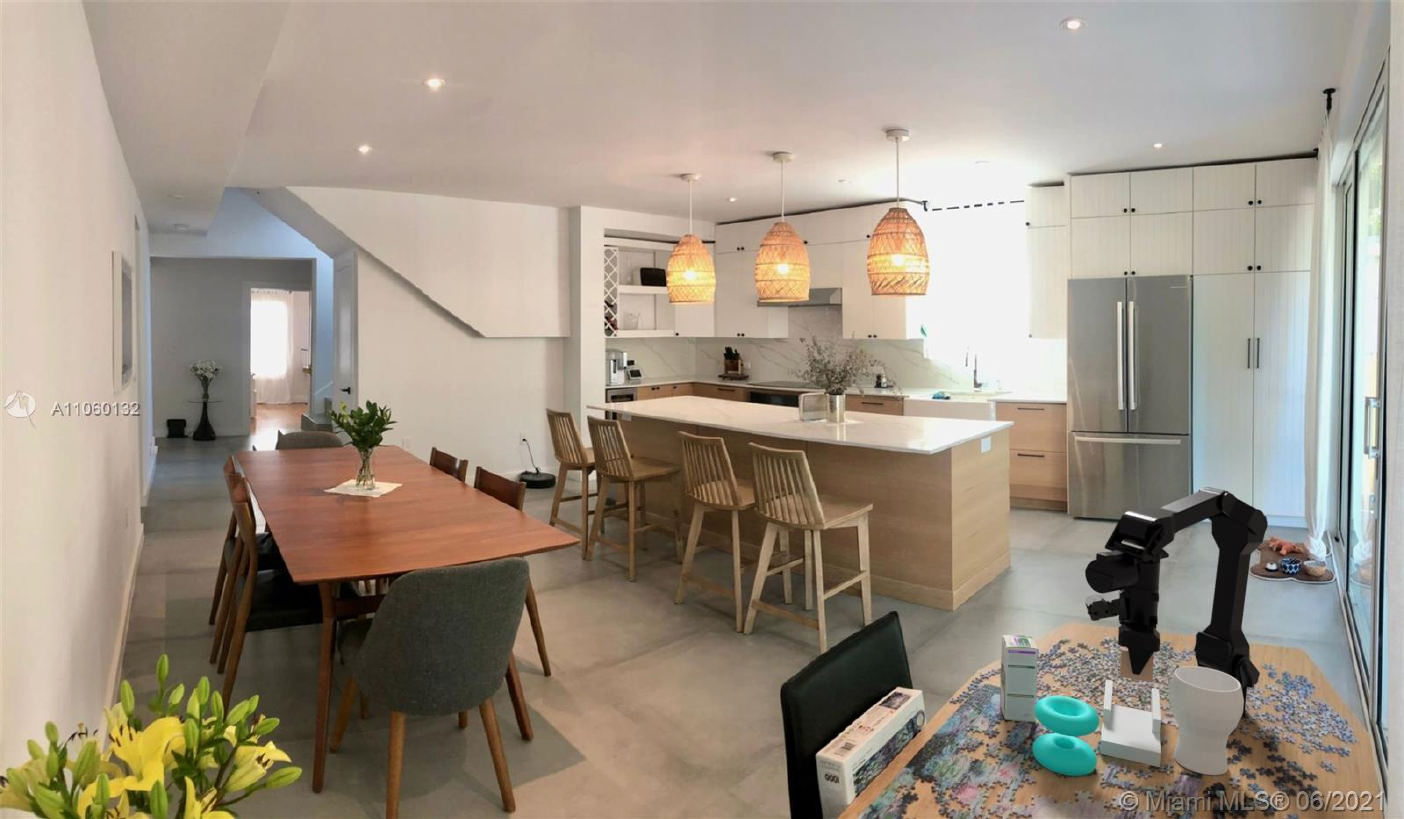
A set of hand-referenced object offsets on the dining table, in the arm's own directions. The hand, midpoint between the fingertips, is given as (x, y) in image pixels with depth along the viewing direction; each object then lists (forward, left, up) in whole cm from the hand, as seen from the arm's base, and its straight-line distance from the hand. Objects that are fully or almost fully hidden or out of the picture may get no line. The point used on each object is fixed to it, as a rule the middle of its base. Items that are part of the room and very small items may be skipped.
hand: (1135, 668), depth 145 cm
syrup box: (+19, +1, -13) cm, 23 cm away
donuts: (+10, +15, -13) cm, 22 cm away
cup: (-10, +5, -13) cm, 17 cm away
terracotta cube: (0, 0, -1) cm, 1 cm away
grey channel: (0, -1, -13) cm, 13 cm away
